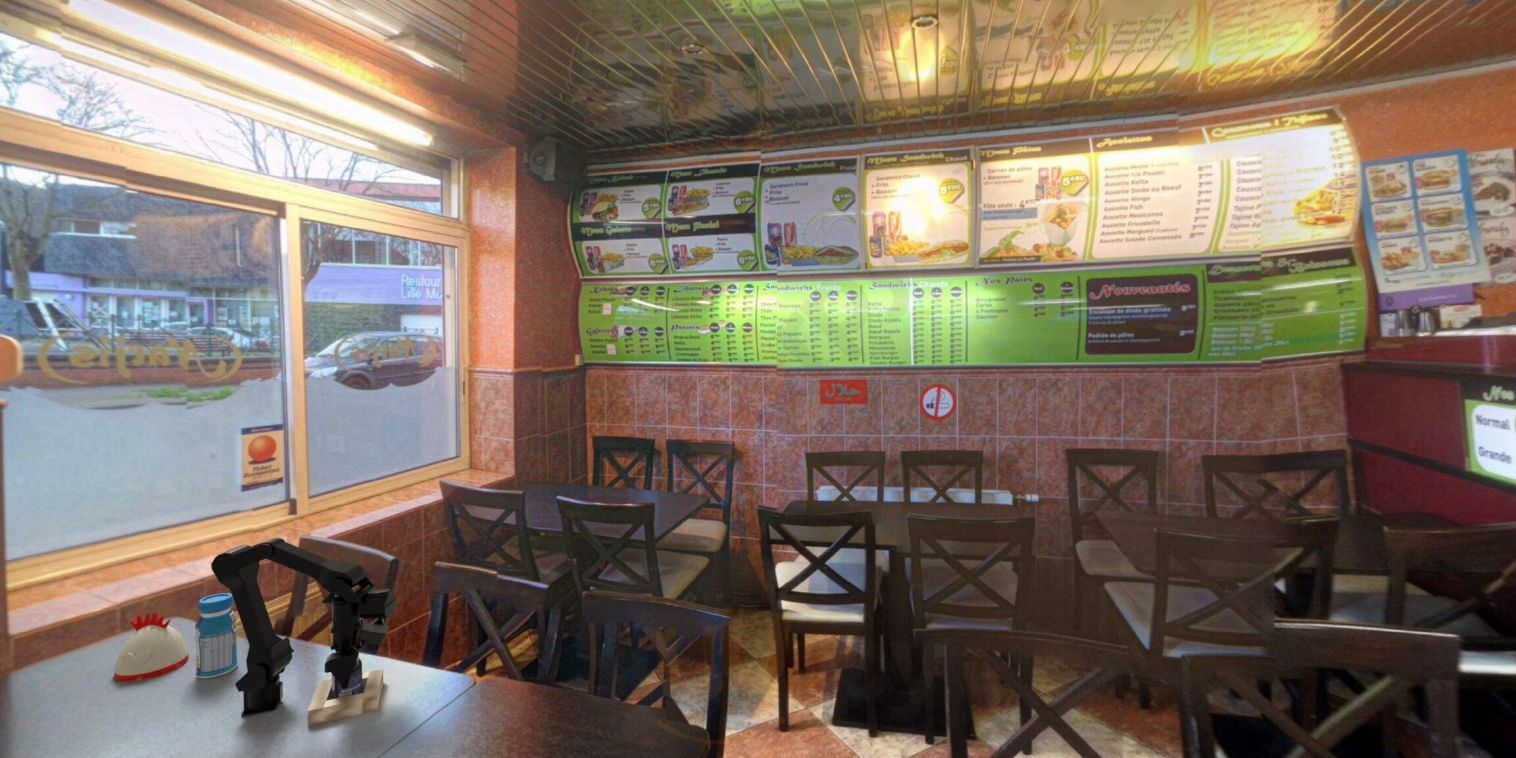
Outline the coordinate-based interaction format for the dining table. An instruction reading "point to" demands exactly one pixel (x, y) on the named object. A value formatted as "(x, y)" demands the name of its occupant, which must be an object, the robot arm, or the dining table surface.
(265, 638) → the robot arm
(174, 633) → the cream hat
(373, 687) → the holder block
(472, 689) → the dining table surface
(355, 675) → the pill bottle
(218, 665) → the blue vitamin bottle
